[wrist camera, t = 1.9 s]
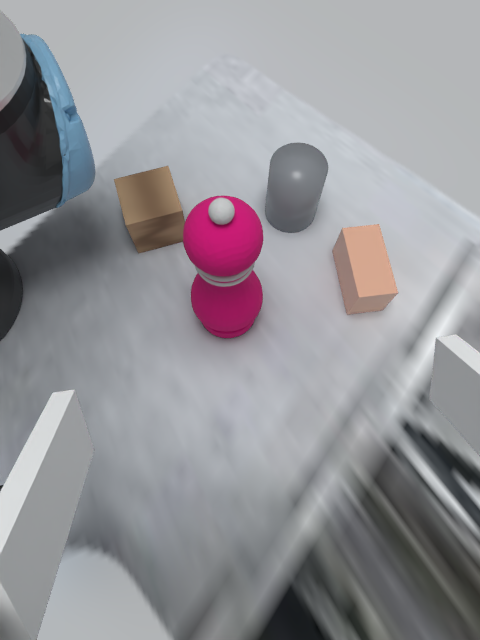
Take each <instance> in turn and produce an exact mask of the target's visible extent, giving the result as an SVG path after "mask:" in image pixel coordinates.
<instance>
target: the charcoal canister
mask: <svg viewBox="0 0 480 640" xmlns="http://www.w3.org/2000/svg"><path fill="white" fill-rule="evenodd" d="M327 173H328V163H327V160H326V158H325V156H324V155H323V154H322V152H321V151H319V150H318V149H317V148H315V147H313V146H311V145H309V144H305V143H290V144H287V145H284V146H282V147H280V148H279V149H278V150H277V151H276V152H275V153H274V154H273V156H272V158H271V161H270V169H269V178H268V187H267V197H266V206H265V214H266V217H267V220H268V221H269V223H270V224H271V225H272V226H273V227H275V228H276V229H278V230H280V231H283V232H288V233H294V232H299V231H302V230H304V229H306V228H307V227H308V226H309V225H310V224H311V223H312V221H313V219H314V216H315V212H316V209H317V206H318V202H319V199H320V196H321V193H322V189H323V186H324V183H325V179H326V176H327Z"/></svg>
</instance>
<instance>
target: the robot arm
mask: <svg viewBox="0 0 480 640" xmlns="http://www.w3.org/2000/svg"><path fill="white" fill-rule="evenodd" d="M94 179H95V164H94V159H93V155H92V151H91V147H90V144H89V141H88V138H87V134H86V131H85V129H84V126H83V123H82V120H81V119H80V117H79V115H78V114H77V110H76V106H75V104H74V100H73V97H72V94H71V92H70V89H69V87H68V85H67V83H66V80H65V78H64V76H63V74H62V71H61V69H60V67H59V65H58V63H57V61H56V60H55V58H54V56H53V54H52V52H51V51H50V49H49V47H48V46H47V44H46V43H45V42H44V40H43V39H41V38H40V37H39V36H37V35H32V34H31V35H25V34H20V33H19V32H18V30H17V28H16V27H15V25H14V24H13V22H12V21H11V20H10V19H9V18H8V17H7V16H6V15H5V14H4V13H3V12H1V11H0V230H3V229H5V228H8V227H10V226H12V225H15V224H17V223H19V222H22V221H25V220H27V219H29V218H32V217H34V216H37V215H39V214H41V213H44V212H46V211H49V210H51V209H54V208H58V207H61V206H62V205H63V204H64V203H65V202H66V201H68V200H70V199H72V198H74V197H76V196H77V195H79V194H81V193H83V192H85V191H87V190H88V189H89V188H90V187H91V186H92V184H93V182H94ZM21 300H22V281H21V277H20V274H19V271H18V269H17V267H16V265H15V264H14V262H13V261H12V260H11V259H10V257H8V256H7V255H6V254H5V253H4V252H3V251H2V250H1V249H0V340H1V339H2V338H3V337H4V335H5V334H6V333H7V332H8V330H9V329H10V327H11V326H12V324H13V322H14V321H15V319H16V317H17V314H18V312H19V309H20V305H21ZM430 400H431V402H432V403H433V404H434V405H435V406H436V407H437V408H438V410H439V411H440V412H441V413H442V414H443V415H444V416H445V418H446V419H447V420H448V421H449V422H450V423H451V424H452V425H453V427H454V428H455V429H456V430H457V431H458V432H459V433H460V435H461V436H462V437H463V438H464V439H465V440H466V441H467V443H468V444H469V445H470V446H471V447H472V448H473V449H474V450H475V452H476V453H477V454H478V455H479V456H480V353H479V352H478V351H477V350H475V349H474V348H473V347H471V346H470V345H469V344H468V343H466V342H465V341H464V340H462V339H461V338H460V337H459V336H457V335H451V336H444V337H437V338H436V343H435V353H434V362H433V371H432V381H431V390H430ZM93 453H94V447H93V444H92V441H91V438H90V434H89V431H88V428H87V425H86V422H85V419H84V416H83V413H82V410H81V407H80V404H79V400H78V397H77V394H76V391H75V390H68V391H61V392H54V393H52V395H51V397H50V399H49V401H48V403H47V405H46V406H45V408H44V410H43V412H42V414H41V416H40V418H39V420H38V422H37V423H36V425H35V427H34V429H33V431H32V433H31V435H30V437H29V438H28V440H27V442H26V444H25V446H24V448H23V450H22V452H21V454H20V455H19V457H18V459H17V461H16V463H15V465H14V467H13V469H12V470H11V472H10V474H9V476H8V478H7V480H6V482H5V484H4V485H1V486H0V640H37V636H38V633H39V630H40V627H41V623H42V620H43V616H44V613H45V610H46V607H47V604H48V600H49V597H50V594H51V590H52V587H53V584H54V580H55V577H56V574H57V571H58V568H59V564H60V561H61V558H62V555H63V551H64V548H65V545H66V542H67V538H68V535H69V532H70V528H71V525H72V522H73V519H74V515H75V512H76V509H77V506H78V502H79V499H80V496H81V493H82V489H83V486H84V483H85V479H86V476H87V473H88V470H89V466H90V463H91V460H92V457H93Z"/></svg>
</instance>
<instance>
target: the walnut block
mask: <svg viewBox="0 0 480 640" xmlns="http://www.w3.org/2000/svg"><path fill="white" fill-rule="evenodd" d="M114 181H115V185H116V189H117V193H118V197H119V201H120V205H121V208H122V212H123V216H124V220H125V224H126V227H127V229H128V231H129V233H130V236H131V238H132V240H133V242H134V244H135V247H136V249H137V251H138V253H142V252H146V251H149V250H153V249H157V248H161V247H164V246H168V245H172V244H175V243H179V242H183V229H184V224H185V221H184V216H183V211H182V208H181V205H180V202H179V198H178V195H177V192H176V189H175V186H174V183H173V179H172V176H171V173H170V170H169V167H168V166H165V167H161V168H157V169H153V170H149V171H145V172H141V173H137V174H133V175H129V176H125V177H121V178H117V179H114Z"/></svg>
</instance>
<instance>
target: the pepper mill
mask: <svg viewBox="0 0 480 640" xmlns="http://www.w3.org/2000/svg"><path fill="white" fill-rule="evenodd" d="M183 243H184V248H185V250H186V253H187V255H188V257H189V259H190V260H191V262H192V263H193V264H194V265H195V267H196V270H197V272H198V274H197V275H196V277H195V279H194V282H193V284H192V289H191V302H192V307H193V310H194V312H195V314H196V316H197V317H198V318H199V319H200V321H201V322H202V324H203V325H204V327H205V328H206V329H207V330H208V331H209V332H210V333H212V334H213V335H215V336H218V337H222V338H234V337H237V336H240V335H242V334H244V333H245V332H246V331H248V330H249V328H250V327H251V326H252V325H253V323H254V320H255V318H256V317H257V315H258V313H259V311H260V309H261V306H262V300H263V294H262V286H261V283H260V281H259V279H258V277H257V276H256V274H255V272H254V271H253V267H254V263H255V261H256V259H257V258H258V256H259V254H260V252H261V248H262V245H263V230H262V225H261V222H260V219H259V218H258V216H257V214H256V212H255V211H254V210H253V209H252V208H251V207H250V206H249V205H248V204H246V203H245V202H244V201H242V200H240V199H238V198H235V197H230V196H215V197H211V198H208V199H206V200H204V201H202V202H201V203H199V204H198V205H196V206H195V207H194V208H193V209H192V211H191V212H190V213H189V215H188V217H187V219H186V221H185V224H184V229H183Z"/></svg>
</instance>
